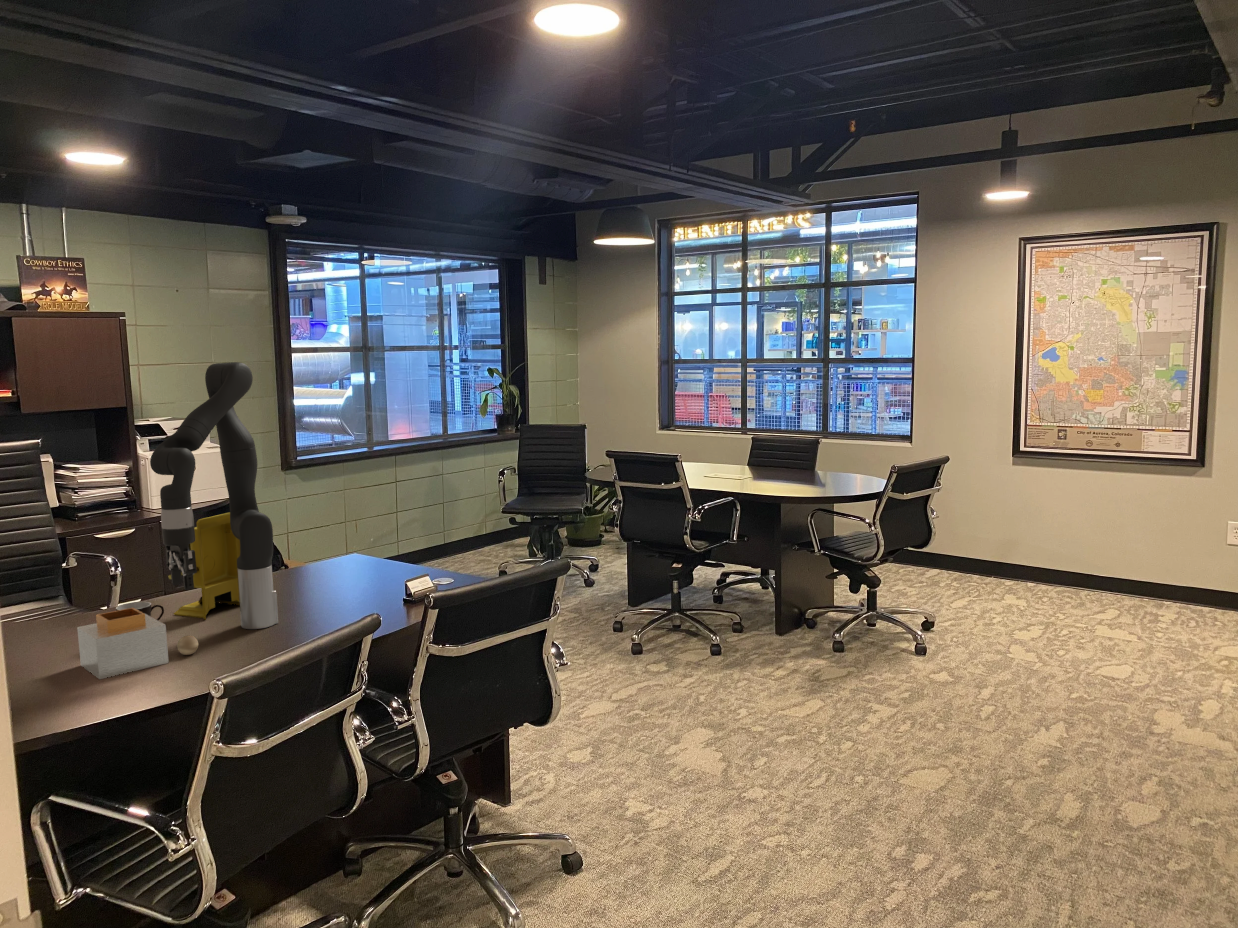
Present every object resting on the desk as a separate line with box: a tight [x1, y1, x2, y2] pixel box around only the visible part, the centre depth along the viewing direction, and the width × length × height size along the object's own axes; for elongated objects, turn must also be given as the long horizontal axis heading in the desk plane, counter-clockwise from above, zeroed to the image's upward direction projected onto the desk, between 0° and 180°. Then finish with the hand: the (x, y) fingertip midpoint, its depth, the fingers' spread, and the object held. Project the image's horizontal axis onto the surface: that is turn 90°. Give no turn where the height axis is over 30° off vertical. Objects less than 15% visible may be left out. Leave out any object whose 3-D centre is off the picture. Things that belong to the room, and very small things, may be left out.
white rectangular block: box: [76, 608, 169, 680], centre depth 234 cm, size 16×15×13 cm
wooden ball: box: [176, 635, 199, 656], centre depth 241 cm, size 5×5×5 cm
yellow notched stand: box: [168, 511, 240, 621], centre depth 282 cm, size 31×14×30 cm, turn 160°
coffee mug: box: [115, 601, 165, 621], centre depth 253 cm, size 12×9×10 cm
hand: (182, 586), depth 239 cm, fingers open, 8 cm apart
